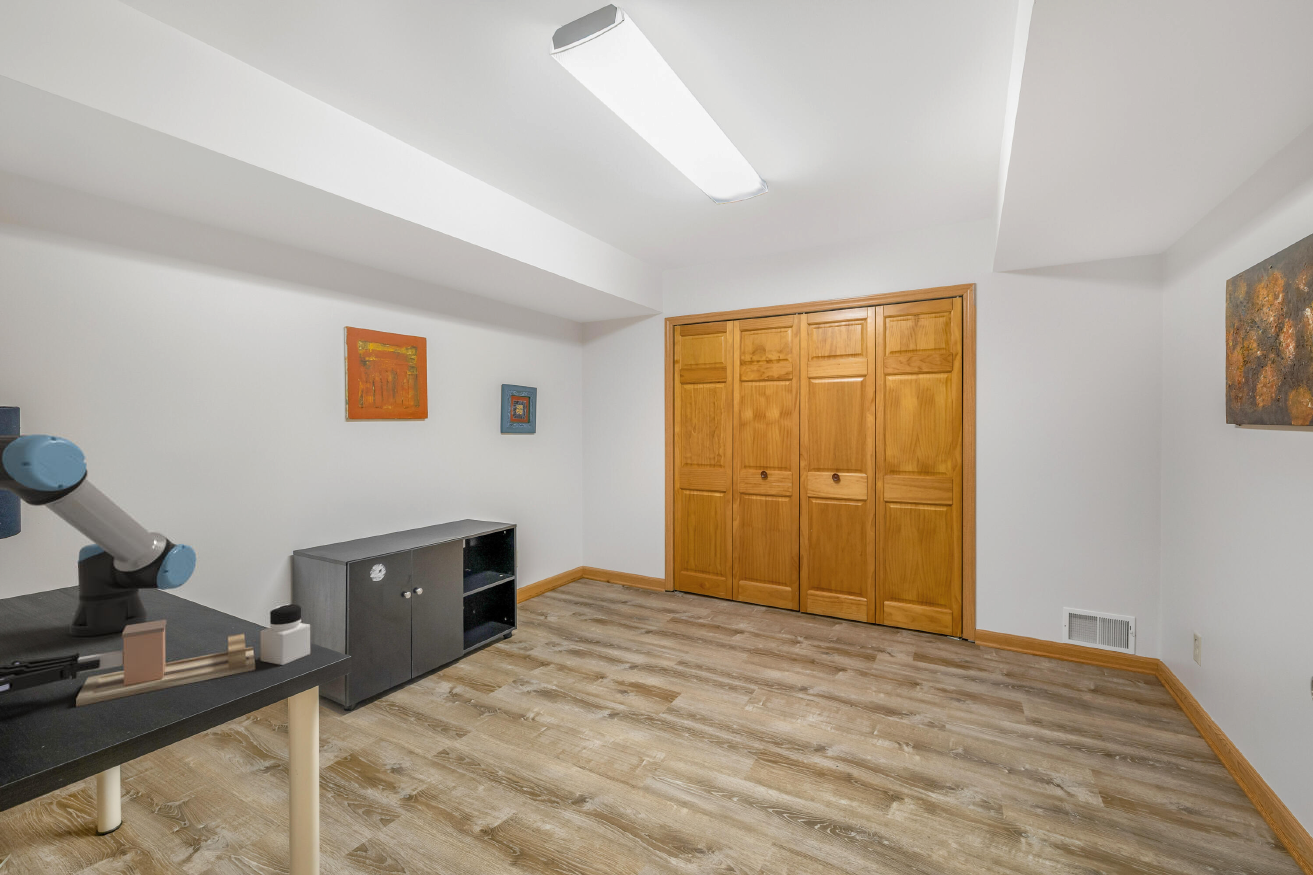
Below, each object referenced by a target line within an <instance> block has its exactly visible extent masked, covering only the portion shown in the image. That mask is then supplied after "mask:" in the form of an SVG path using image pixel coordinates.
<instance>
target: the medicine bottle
mask: <svg viewBox="0 0 1313 875" xmlns="http://www.w3.org/2000/svg"><path fill="white" fill-rule="evenodd" d="M269 622H270V624H269V626H270V627H269V628H265V629H261V631H260V661H261V662H264V663H270V664H275V665H280V666H284V665H287V664H290V663H291V662H294V661H296V660H298V659H301V658H303V657H306V656H309V655H310V654H311V624H309V623H308V624H307V623H302V607H301V605H298V604H295V603H290V604H289V603H287V604H283V605H278V606H276V607H274V608H272V609H271V610H270V612H269Z"/></svg>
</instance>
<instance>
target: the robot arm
mask: <svg viewBox="0 0 1313 875" xmlns="http://www.w3.org/2000/svg"><path fill="white" fill-rule="evenodd" d="M85 459H86V456H85V454H84V452H83V450H82V449H81V448H80V447H79V446H78V445H77V444H75V443H74V442H72V440H69V439H66V438H63V437H60V436H55V435H47V434H21V435H19V434H17V435H13V434H11V435H7V434H6V435H5V434H4V435H3V434H2V435H0V490H3V491H9V492H11V493H12V494H13V495H15V496H16V497H18V498H19V499H20V500H22V501H23V502H25V503H26V504H27V505H30V506H35V507H41V506H45V507H46V508H47V509H48V510H50V511H51V512H53V513H54V514H56V515H57V516H58V517H59V518H60V519H62V521H63V520H64V522H66V523H67V524H69V525H70V526H72V527H73V528H74V529H75V530H77V531H78V532H80V533H81V534H82V535H84V536H85V537H86V538H88V539H89V540H90V541H91V542H93V543H92V544H88V545H85V546H83V547H81V549H80V550H79V552H78V553H79V554H78V561H77V576H78V604H77V607H76V609H75V611H74V614H73V616H72V618H71V621H70V623H69V635H71V636H73V637H90V636H91V637H94V636H99V635H102V636H103V635H107V634H113V633H119V632H123V631H124V629H125V627H126V626H127V625H133V624H140V623H146V622H148V621H149V620H148V619H149V618H148V617H149V616H148V611H147V608H146V606H145V604H144V602H143V600H142V597H141V595H140V589H142V590H161V591H165V590H174V589H177V588H179V587H181V586H183V585H184V584H185V583H187V582H188V581H189V580H190V579H191V577H192V575H193V573H194V571H195V569H196V562H197V556H196V552H195V550H194V549H193V547H192V546H190V545H187V544H184V543H178V544H176V543H173V542H172V541H171V540H169V539H168V537H166V536H165V535H163V534H162V533H160V532H154V531H153V532H152V531H151V532H149V531H148V530H147V529H145V527H143V526H142V525H141V524H140V523H138V521H137V520H135V519H134V518H133V517H132V516H130V515H129V514H128V513H127V512H126V511H125V510H124V509H122V508H121V507H120V506H119V505H117V504H116V503H115V501H113V500H111V499H110V498H109V497H108V496H107V495H105V494H104V493H103V492H102V491H101V490H100V489H99V488H97V487H96V485H93V483H91V482H90V481H89V480H88V479H87V478H88V476H89V471H88V469H87V462H85V461H84V460H85ZM120 666H121V667H123V666H124V649H121V650H116V651H110V652H104V653H97V654H91V655H86V656H85V655H84V656H80V652H76V653H74V654H71V655H70V654H69V655H63V656H54V657H45V658H38V659H37V658H36V659H27V660H24V659H23V660H20V659H19V660H13V661H11V662H10V664H4V665H0V696H4V695H6V694H9V693H13V692H18V691H22V690H26V689H31V688H34V687H39V686H44V685H48V684H51V683H56V682H61V681H66V680H68V679H71V680H75V679H77V676H78V674H83V673H88V672H94V671H99V670H104V669H105V670H106V669H110V668H116V667H120Z"/></svg>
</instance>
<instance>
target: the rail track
mask: <svg viewBox="0 0 1313 875" xmlns="http://www.w3.org/2000/svg"><path fill="white" fill-rule="evenodd" d="M245 638H246V637H245V633H241V634H233V635H228V638H227V641H228V642H227V643H228V645H227V646H228V648H227V649H228V650H227V651H222V652H217V653H212V654H206V655H200V656H195V657H190V658H183V659H180V660H174V661H168V662H165V672H164V676H163V678H161V679H156V680H151V681H146V682H141V683H136V684H131V685H126V686H124V670H121V671H119V670H118V671H115V672H109V673H104V674H103V673H102V674H98V675H93V676H88V677H87V679H86V680H85V683H84V684H83V686H82V687H81V689H80V691H79V693H78V695H77V697H76V698H75V700H76V701H75V703H76V704H75V707H81V706H86V705H91V704H96V703H100V702H106V701H110V700H115V699H120V698H126V697H129V696H135V695H139V694H144V693H149V692H154V691H159V690H165V689H168V688H173V687H174V688H175V687H178V686H184V685H188V684H192V683H193V684H194V683H198V682H203V681H207V680H211V679H217V678H222V677H226V676H231V675H236V674H241V673H246V672H247V673H248V672H251V671H255V670H256V662H255V654H254V646H249V647H246V639H245Z"/></svg>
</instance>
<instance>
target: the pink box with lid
mask: <svg viewBox="0 0 1313 875" xmlns="http://www.w3.org/2000/svg"><path fill="white" fill-rule="evenodd" d="M166 626H167V619H160V620H154V621H147V622H146V623H140V624H133V625H127V626H126V627H125V629H124V630H123V631H122V634H121V639H123V650H124V664H123V671H124V686H126V685H131V684H136V683H141V682H146V681H151V680H156V679H161V678H163V676H164V672H165V663H166Z"/></svg>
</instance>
